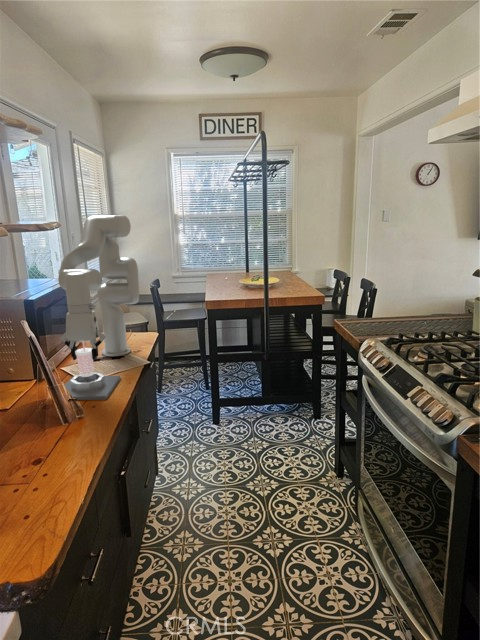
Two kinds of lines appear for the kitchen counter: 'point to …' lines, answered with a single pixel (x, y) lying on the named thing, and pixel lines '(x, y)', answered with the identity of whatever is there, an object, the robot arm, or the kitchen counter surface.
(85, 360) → the beverage cup
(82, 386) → the steel collar
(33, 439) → the kitchen counter surface
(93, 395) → the plate
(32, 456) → the kitchen counter surface
